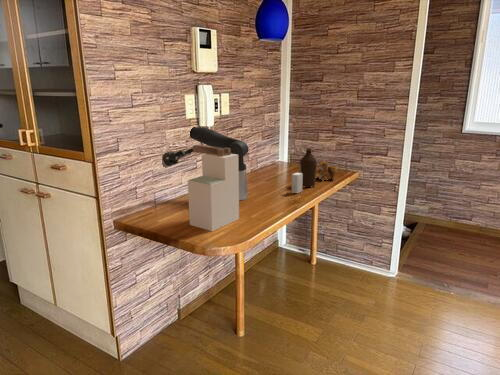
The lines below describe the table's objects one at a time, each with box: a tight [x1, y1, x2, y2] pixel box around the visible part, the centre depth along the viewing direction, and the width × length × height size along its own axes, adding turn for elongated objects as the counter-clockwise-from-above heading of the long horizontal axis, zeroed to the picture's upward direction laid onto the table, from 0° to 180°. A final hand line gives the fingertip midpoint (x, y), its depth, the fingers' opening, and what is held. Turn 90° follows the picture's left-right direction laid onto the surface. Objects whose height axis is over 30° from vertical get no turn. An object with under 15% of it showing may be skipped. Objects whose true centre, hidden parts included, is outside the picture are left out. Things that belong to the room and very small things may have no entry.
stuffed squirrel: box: [316, 160, 339, 181], centre depth 256 cm, size 10×14×13 cm
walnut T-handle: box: [192, 144, 231, 157], centre depth 177 cm, size 6×20×3 cm, turn 54°
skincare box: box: [291, 172, 303, 194], centre depth 225 cm, size 6×4×12 cm
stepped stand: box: [187, 153, 240, 232], centre depth 174 cm, size 20×14×32 cm
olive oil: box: [299, 147, 318, 188], centre depth 238 cm, size 11×11×25 cm
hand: (187, 150), depth 195 cm, fingers open, 8 cm apart
